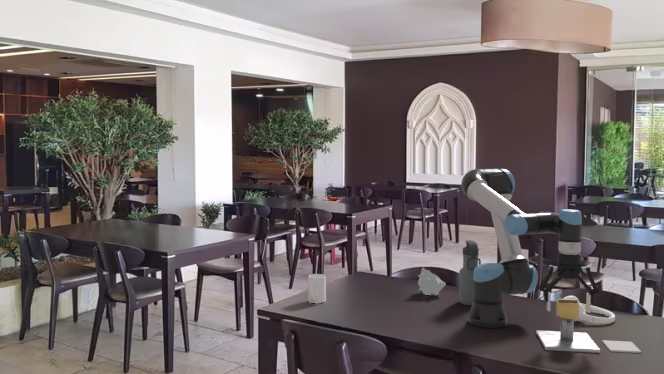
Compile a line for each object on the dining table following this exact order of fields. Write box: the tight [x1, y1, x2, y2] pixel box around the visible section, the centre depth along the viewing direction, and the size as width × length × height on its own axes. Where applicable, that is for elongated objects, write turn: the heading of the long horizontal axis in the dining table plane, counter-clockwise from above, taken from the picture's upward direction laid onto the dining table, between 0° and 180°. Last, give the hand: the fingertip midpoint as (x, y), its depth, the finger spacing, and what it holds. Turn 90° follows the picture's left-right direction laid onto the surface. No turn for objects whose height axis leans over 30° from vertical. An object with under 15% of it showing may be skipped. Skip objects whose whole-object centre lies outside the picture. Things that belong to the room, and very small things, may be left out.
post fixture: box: [535, 317, 601, 354], centre depth 214 cm, size 18×18×10 cm
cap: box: [555, 298, 580, 319], centre depth 213 cm, size 8×8×6 cm
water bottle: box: [458, 239, 482, 307], centre depth 266 cm, size 10×10×28 cm
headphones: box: [562, 295, 616, 325], centre depth 244 cm, size 20×8×20 cm
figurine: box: [417, 267, 446, 296], centre depth 281 cm, size 10×15×14 cm
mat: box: [601, 339, 642, 354], centre depth 210 cm, size 10×10×1 cm
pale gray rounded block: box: [307, 273, 327, 303], centre depth 266 cm, size 8×12×12 cm
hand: (568, 311), depth 213 cm, fingers open, 13 cm apart
